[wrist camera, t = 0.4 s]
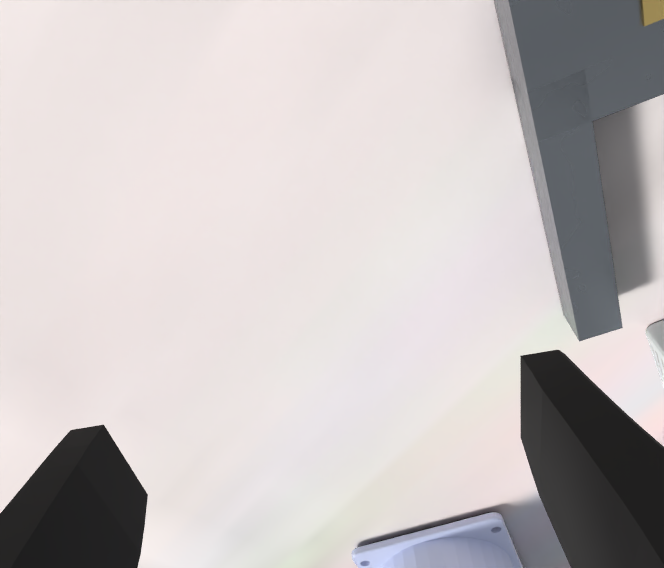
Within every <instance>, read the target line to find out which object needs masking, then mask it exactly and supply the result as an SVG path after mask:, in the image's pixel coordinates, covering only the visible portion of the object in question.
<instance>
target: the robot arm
mask: <svg viewBox="0 0 664 568" xmlns="http://www.w3.org/2000/svg"><path fill="white" fill-rule="evenodd" d="M521 440H522V443H523V446H524V449H525V452H526V456H527V459H528V462H529V465H530V468H531V471H532V474H533V478H534V481H535V484H536V487H537V490H538V493H539V496H540V498H541V500H542V503H543V505H544V507H545V509H546V512H547V514H548V516H549V519H550V521H551V523H552V525H553V528H554V530H555V532H556V534H557V537H558V539H559V541H560V543H561V546H562V548H563V550H564V552H565V555H566V557H567V559H568V561H569V564H570V566H571V568H664V447H663V446H662V445H661V444H660V443H659V442H658V441H656V440H655V439H654V438H653V437H652V436H651V435H650V434H648V433H647V432H646V431H645V430H644V429H643V428H642V427H640V426H639V425H638V424H637V423H636V422H635V421H634V420H633V419H632V418H630V417H629V416H628V415H627V414H626V413H625V412H624V411H623V410H622V409H621V408H620V407H619V406H617V405H616V404H615V403H614V402H613V401H612V400H611V399H610V398H609V397H608V396H607V395H606V394H605V393H604V392H603V391H602V390H601V389H600V388H598V387H597V386H596V385H595V384H594V383H593V382H592V381H591V380H590V379H589V378H588V377H587V376H586V375H585V374H584V373H583V372H582V371H581V370H580V369H579V368H578V367H577V366H576V365H575V364H574V363H573V362H572V361H571V360H570V359H569V358H568V357H567V356H566V355H565V354H564V353H562V352H561V351H560V350H553V351H547V352H541V353H535V354H529V355H523V356H521ZM147 496H148V495H147V493H146V491H145V490H144V488H143V487H142V485H141V483H140V482H139V480H138V479H137V477H136V475H135V474H134V472H133V471H132V469H131V467H130V466H129V464H128V463H127V461H126V460H125V458H124V456H123V455H122V453H121V452H120V450H119V448H118V447H117V445H116V444H115V442H114V440H113V439H112V437H111V436H110V434H109V432H108V431H107V429H106V428H105V426H104V425H99V426H93V427H87V428H81V429H75V430H71V431H70V432H69V433H68V434H67V435H66V436H65V437H64V438H63V439H62V441H61V442H60V443H59V444H58V445H57V446H56V447H55V449H54V450H53V451H52V452H51V453H50V455H49V456H48V457H47V458H46V459H45V461H44V462H43V463H42V464H41V465H40V467H39V468H38V469H37V470H36V471H35V473H34V474H33V475H32V476H31V477H30V479H29V480H28V481H27V482H26V483H25V485H24V486H23V487H22V488H21V489H20V491H19V492H18V493H17V494H16V496H15V497H14V498H13V499H12V500H11V502H10V503H9V504H8V505H7V506H6V507H5V509H4V510H3V511H2V512H1V513H0V568H137V567H138V562H139V558H140V554H141V547H142V539H143V532H144V525H145V515H146V506H147ZM352 560H353V561H354V563H355V564H356V565H357V567H358V568H523V566H522V563H521V561H520V559H519V556H518V554H517V551H516V549H515V547H514V544H513V542H512V539H511V537H510V535H509V532H508V530H507V527H506V525H505V522H504V520H503V518H502V516H501V514H499V513H497V512H491V513H487V514H483V515H479V516H475V517H471V518H468V519H464V520H460V521H456V522H452V523H449V524H445V525H441V526H437V527H433V528H429V529H426V530H422V531H418V532H414V533H410V534H407V535H403V536H399V537H395V538H391V539H388V540H384V541H380V542H376V543H372V544H369V545H365V546H361V547H357V548H355V549H354V550H353V551H352Z"/></svg>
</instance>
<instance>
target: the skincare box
mask: <svg viewBox="0 0 664 568" xmlns="http://www.w3.org/2000/svg"><path fill="white" fill-rule="evenodd" d="M646 336H647V339H648V342H649V345H650V348H651V351H652V354H653V357H654V360H655V363H656V366H657V370H658V372H659V375H660V378H661V381H662V384H663V387H664V320H662V321H659V322H656V323H654V324H652V325H650V326H649V327H648V328H647V329H646Z"/></svg>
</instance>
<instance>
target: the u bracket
mask: <svg viewBox="0 0 664 568" xmlns="http://www.w3.org/2000/svg"><path fill="white" fill-rule="evenodd" d="M494 3H495V7H496V12H497V16H498V21H499V25H500V30H501V34H502V39H503V43H504V48H505V53H506V57H507V62H508V66H509V71H510V75H511V80H512V84H513V89H514V93H515V98H516V102H517V107H518V111H519V116H520V120H521V125H522V129H523V134H524V138H525V143H526V147H527V152H528V156H529V161H530V165H531V170H532V174H533V179H534V183H535V188H536V193H537V197H538V202H539V206H540V211H541V215H542V220H543V224H544V229H545V233H546V238H547V242H548V247H549V251H550V256H551V260H552V265H553V269H554V274H555V278H556V283H557V287H558V292H559V296H560V301H561V305H562V310H563V314H564V316H565V318H566V320H567V321H568V323H569V325H570V327H571V328H572V330H573V332H574V333H575V335H576V337H577V338H578V340H579V341H582V340H585V339H588V338H591V337H595V336H598V335H601V334H604V333H608V332H611V331H614V330H617V329H620V328H622V321H621V314H620V307H619V300H618V294H617V287H616V280H615V273H614V266H613V259H612V252H611V245H610V239H609V232H608V225H607V218H606V211H605V204H604V197H603V191H602V184H601V177H600V170H599V163H598V156H597V149H596V142H595V136H594V129H593V122H592V121H594V120H597V119H600V118H602V117H605V116H608V115H610V114H613V113H615V112H618V111H621V110H623V109H626V108H629V107H631V106H634V105H636V104H639V103H642V102H644V101H647V100H650V99H652V98H655V97H657V96H660V95H663V94H664V0H494Z"/></svg>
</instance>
